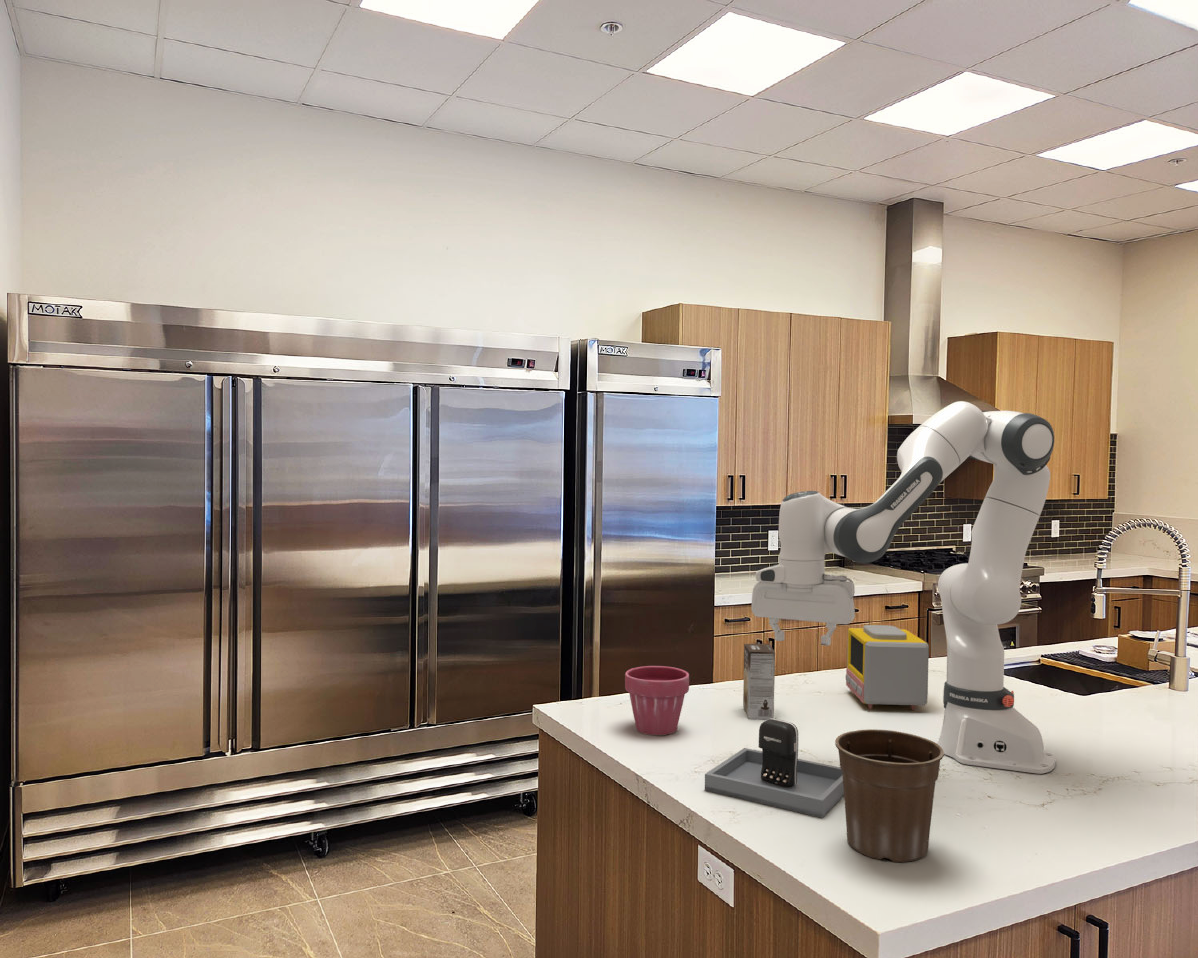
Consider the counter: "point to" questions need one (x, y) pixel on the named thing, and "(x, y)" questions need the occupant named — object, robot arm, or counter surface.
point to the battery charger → (779, 752)
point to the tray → (808, 796)
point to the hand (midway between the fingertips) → (802, 642)
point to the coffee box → (759, 681)
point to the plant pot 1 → (656, 697)
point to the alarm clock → (887, 666)
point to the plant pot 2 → (888, 792)
